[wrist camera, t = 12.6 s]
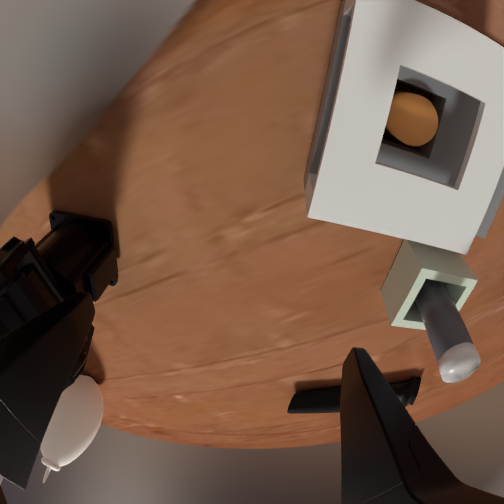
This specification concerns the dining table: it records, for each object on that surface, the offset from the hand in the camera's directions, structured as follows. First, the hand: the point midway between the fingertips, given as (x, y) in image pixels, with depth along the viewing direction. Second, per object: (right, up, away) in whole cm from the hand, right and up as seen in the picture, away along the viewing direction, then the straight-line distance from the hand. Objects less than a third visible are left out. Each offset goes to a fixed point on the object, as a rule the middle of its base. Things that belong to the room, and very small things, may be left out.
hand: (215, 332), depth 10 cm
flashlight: (+14, +1, +13) cm, 19 cm away
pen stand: (+15, +1, +13) cm, 20 cm away
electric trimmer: (+13, -13, +23) cm, 30 cm away
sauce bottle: (-22, -16, +29) cm, 40 cm away
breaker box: (+12, +11, +7) cm, 18 cm away
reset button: (+10, +12, +8) cm, 17 cm away
